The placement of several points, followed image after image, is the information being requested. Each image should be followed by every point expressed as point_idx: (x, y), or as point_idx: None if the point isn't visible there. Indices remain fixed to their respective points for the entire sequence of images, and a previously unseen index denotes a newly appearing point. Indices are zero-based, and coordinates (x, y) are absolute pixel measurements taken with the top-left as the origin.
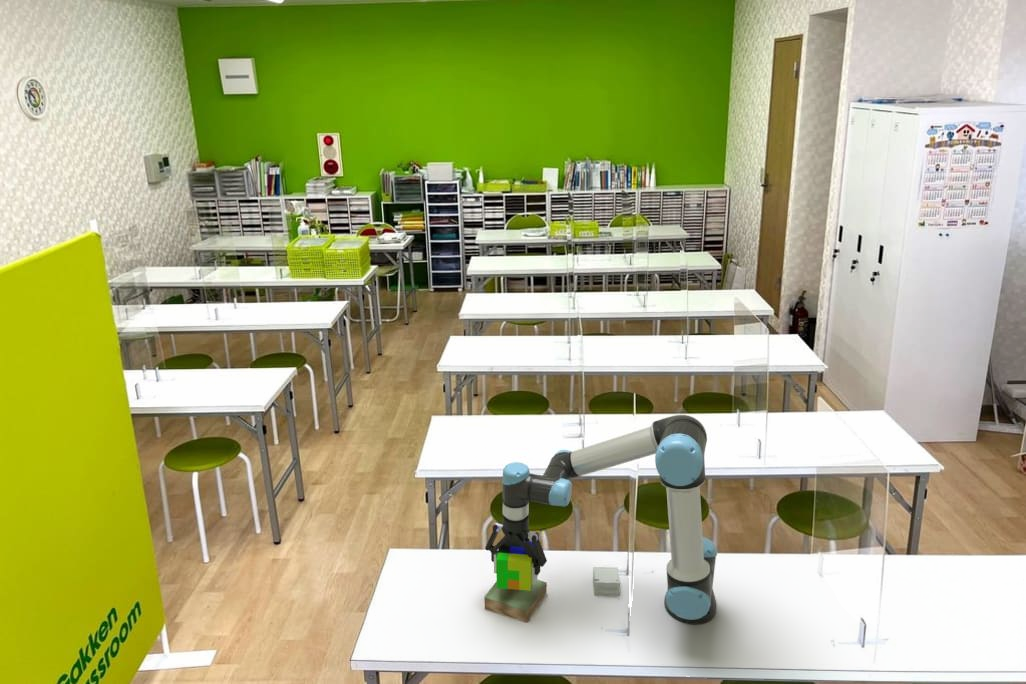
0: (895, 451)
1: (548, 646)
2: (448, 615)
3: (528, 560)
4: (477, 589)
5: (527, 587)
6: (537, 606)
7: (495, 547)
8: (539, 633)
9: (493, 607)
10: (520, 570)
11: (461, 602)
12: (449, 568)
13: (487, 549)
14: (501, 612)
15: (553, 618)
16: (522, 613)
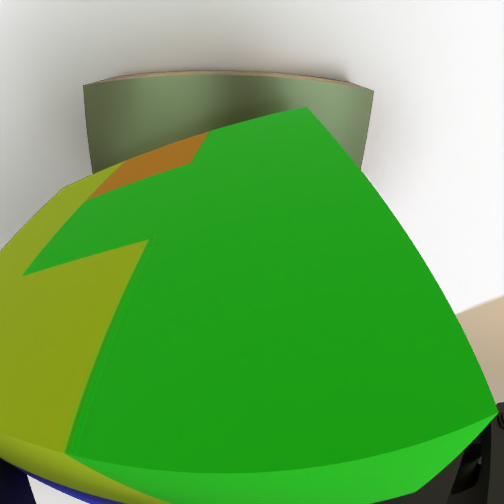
0: None
1: (10, 25)
2: (470, 19)
3: None
4: (413, 193)
5: (66, 191)
6: None
7: (440, 489)
8: (53, 55)
9: (303, 76)
10: (10, 284)
11: (453, 101)
12: (500, 259)
13: (500, 414)
14: (254, 72)
15: (50, 155)
16: (121, 78)
